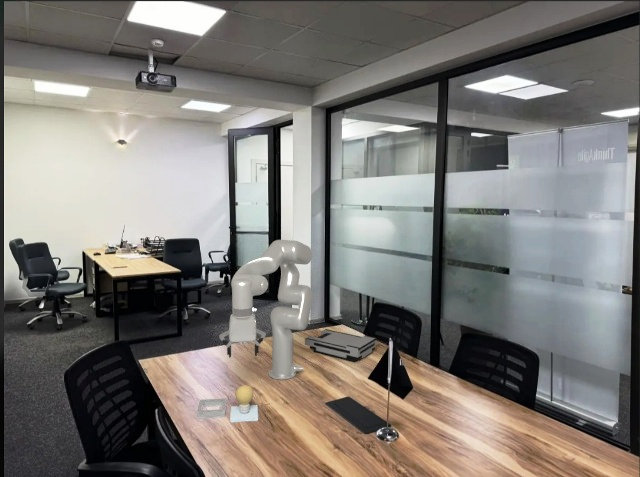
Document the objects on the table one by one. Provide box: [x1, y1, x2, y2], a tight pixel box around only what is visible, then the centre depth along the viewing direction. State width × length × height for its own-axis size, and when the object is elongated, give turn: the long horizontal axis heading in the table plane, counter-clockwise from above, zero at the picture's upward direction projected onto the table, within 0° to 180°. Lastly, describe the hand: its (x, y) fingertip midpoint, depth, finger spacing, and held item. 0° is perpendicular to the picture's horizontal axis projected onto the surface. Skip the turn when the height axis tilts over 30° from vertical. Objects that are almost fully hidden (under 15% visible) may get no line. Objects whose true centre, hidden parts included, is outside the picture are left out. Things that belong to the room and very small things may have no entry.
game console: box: [304, 328, 377, 364], centre depth 227 cm, size 21×32×8 cm, turn 57°
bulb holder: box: [196, 397, 227, 420], centre depth 161 cm, size 10×10×2 cm
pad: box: [229, 404, 259, 423], centre depth 159 cm, size 10×10×1 cm
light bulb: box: [235, 384, 254, 413], centre depth 158 cm, size 6×6×10 cm
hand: (243, 355), depth 161 cm, fingers open, 9 cm apart
